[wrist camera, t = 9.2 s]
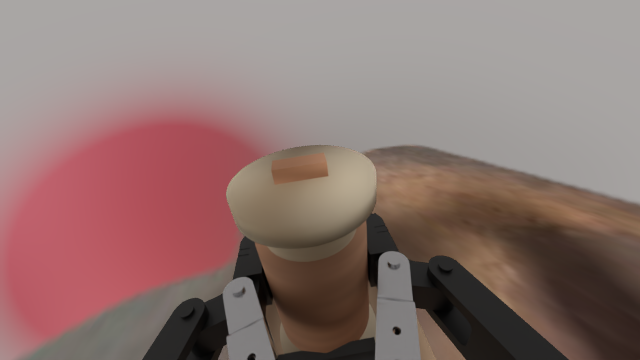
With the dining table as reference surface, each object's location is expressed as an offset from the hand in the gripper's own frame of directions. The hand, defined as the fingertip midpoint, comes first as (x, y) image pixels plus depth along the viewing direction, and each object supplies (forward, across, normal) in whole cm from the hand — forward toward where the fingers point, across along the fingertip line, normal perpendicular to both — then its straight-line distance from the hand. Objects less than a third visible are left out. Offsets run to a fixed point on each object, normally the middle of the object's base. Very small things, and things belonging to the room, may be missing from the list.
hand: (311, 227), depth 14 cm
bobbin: (-3, 0, +6) cm, 7 cm away
